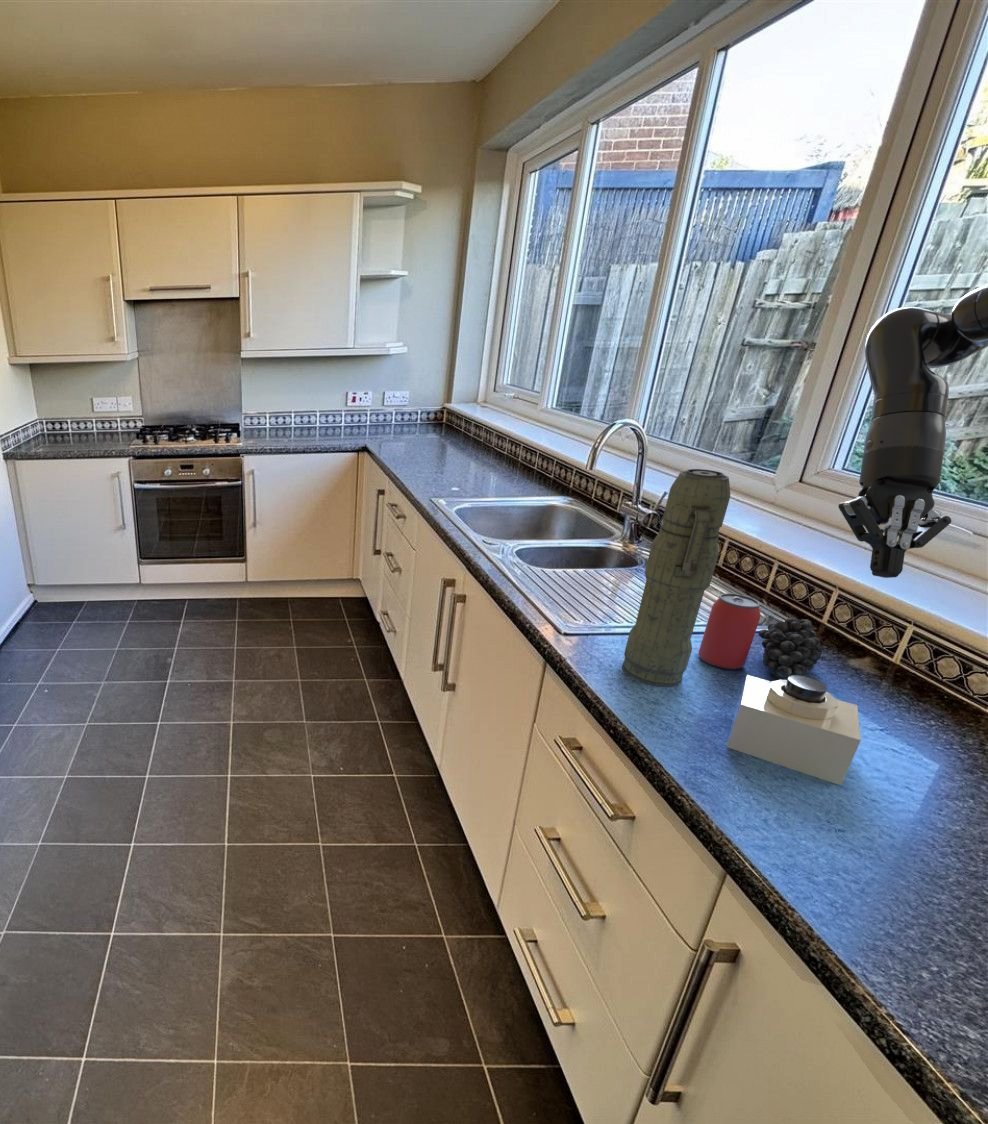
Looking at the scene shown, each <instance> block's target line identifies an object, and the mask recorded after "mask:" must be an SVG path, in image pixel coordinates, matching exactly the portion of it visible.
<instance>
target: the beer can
mask: <svg viewBox="0 0 988 1124" xmlns="http://www.w3.org/2000/svg"><path fill="white" fill-rule="evenodd" d="M760 606H761V603H760V602H759V601H758V600H757V599H755V598H754V597H751V596H747V595H743V594H739V593H731V592H729V593H727V592H726V593H721V594H720V595H718V598H717V599H716V600H715V602H714V603H713V604H712V606H711V608H710V612H709V615H708V619H707V621H706V626H705V629H704V632H703V636H702V639H701V642H700V646H699V648H698V656H699V658H700V660H702V661H704V662H705V663H706V664H708V665H710V666H713V667H716V668H719V669H724V670H739V669H741V668H743V667H744V666H745V665H746V662H747V659H748V655H749V652H750V649H751V646H752V644H753V640H754V637H755V635H756V632H757V629H758V626H759V623H760V619H761V610H760Z"/></svg>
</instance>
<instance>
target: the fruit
mask: <svg viewBox="0 0 988 1124" xmlns="http://www.w3.org/2000/svg"><path fill="white" fill-rule="evenodd" d="M795 632H796V633H795ZM758 636H759V637H760V638H761V639H763V640H762V641H761V646H762V648H763V652H762V663H763V665H764V666H766V667H767V668H768V670H769V671H772V672H773V676H774V677H775V678H776V679H778V678H779V679H778V680H787V679H788V677H789V676H792V675H798V676H806V675H807V672H810V671H812V670H814V668H815V665H816V664H817V663H818V661H819V660H821V657H822V653H823V650H822V648H821V643H820V639H819V638H818V637H817V632H816V631H815V630H813V623H812V621H811V620H809V619H807V618H805V619H804V618H801V619H800V620H798V619H797V618H795V617H788V618H786V619H784V620H778V621H776V622H771V623H768V625H767V629H765V628H763V629H760V630H759V632H758Z"/></svg>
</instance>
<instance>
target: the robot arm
mask: <svg viewBox="0 0 988 1124" xmlns="http://www.w3.org/2000/svg"><path fill="white" fill-rule="evenodd" d="M985 348H988V283H987V284H985V285H983V286H980V287H978V288H976V289H974V290H972V291H970V292H968V293H966V294H964V296H962V297H961V298H959V300H958V301H957V302H956V303H955V304H954V307H953V308H952V311H951V314H947V313H943V312H938V311H934V310H929V309H925V308H921V307H914V306H913V307H912V306H906V307H899V308H896V309H894V310H890V311H889V312H887V313H885V314H884V315H883V316H881V317H880V318H879V319H877V321H876V322H875V323H874V325H872V327H871V328H870V330H869V332H868V334H867V337H866V340H865V345H864V356H865V362H866V367H867V371H868V376H869V381H870V385H871V388H872V391H873V401H872V407H871V408H872V409H871V416H870V422H869V427H868V430H867V432H866V435H865V439H864V447H863V452H862V460H861V467H860V474H859V481H858V482H859V483H858V484H859V485H860V486H861V489H860V490H859V492H858V494H857V497H854V498H853V499H851V500H848V501H847V500H846V501H842V502H839V504H838V505H837V506H838V509H839V511H840V513H841V514H842V516H843V518H844V519H845V521H846V522H847V524H848V526H849V528H850V529H851V531H852V533H853V534H854V536H855V538H856V540H857V541H859V542H864V543H866V544H868V545H869V547H870V548H871V549H872V550H871V557H870V565H869V568H870V571H871V574H872V576H874V577H880V578H883V579H889V578H897V577H899V576H900V574H901V573H902V572H903V569H904V561H905V554H906V551H907V550H910V549H922V548H924V546H926V545H927V544H928V543H930V542H931V541H932V540H933V539H934V538H935V537H936V536H937V535H939V534H940V533H941V532H942V531H944V530H945V529H946V528H947V527H948V526H949V525H951V523H952V518H951V517H950V516H948V515H942V516H941V515H940V514H939V513H938V512H937V511H936V510H935V509H934V507H935V505H936V504H935V500H934V497H933V492H934V490H935V489H936V487H937V486H938V485H939V484H940V482H941V476H942V468H943V461H944V454H945V453H944V452H945V448H946V447H945V446H946V439H947V428H946V427H947V426H946V419H947V411H948V403H949V395H950V386H949V383H948V381H947V380H946V379H945V378H944V377H942V376H941V375H939V374H937V373H935V372H934V371H932V369H938V368H943V367H948V366H950V365H953V364H956V363H958V362H960V361H963V360H965V359H967V358H968V357H971V356H972V355H974V354H976V353H978V352H981V351H982V350H984V349H985Z"/></svg>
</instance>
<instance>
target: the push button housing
mask: <svg viewBox="0 0 988 1124" xmlns="http://www.w3.org/2000/svg"><path fill="white" fill-rule="evenodd" d="M786 682H787V680H780V679H777V680H773V681H772V680H771V681H770V680H767V679H763V678H759V677H756V676H752V675H749V674H746V676H745V679H744V682H743V685H742V688H741V691H740V693H739V697H738V699H737V703H736V706H735V709H734V712H733V714H732V719H731V723H730V724H731V725H730V729H729V733H728V737H727V742H726V748H728V749H731V750H734V751H737V752H740V753H742V754H745V755H749V756H752V757H755V758H758V759H760V760H764V761H766V762H769V763H773V764H775V765H778V766H781V767H784V768H787V769H790V770H793V771H796V772H799V773H803V774H804V775H808V776H811V777H814V778H816V779H817V778H818V779H820V780H823V781H826V782H828V783H831V784H835V785H838V786H842V785H843V782H844V780H845V778H846V776H847V774H848V771H849V769H850V767H851V764H852V763H853V760H854V758H855V755H856V753H857V751H858V748H859V745H860V743H861V742H862V739H861V728H860V719H859V706H858V704H855V703H851V702H848V701H844V700H841V699H837V698H835V696H833V695H832V694H831V693H830V692H828V691H826V693H825V696H824V698H823V701H822V703H808V702H805V701H801V700H798V699H795V698H793V697H791V696H789V695H787V694H786V693H785V692H784V691H783V690H784V687H785V684H786Z"/></svg>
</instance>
